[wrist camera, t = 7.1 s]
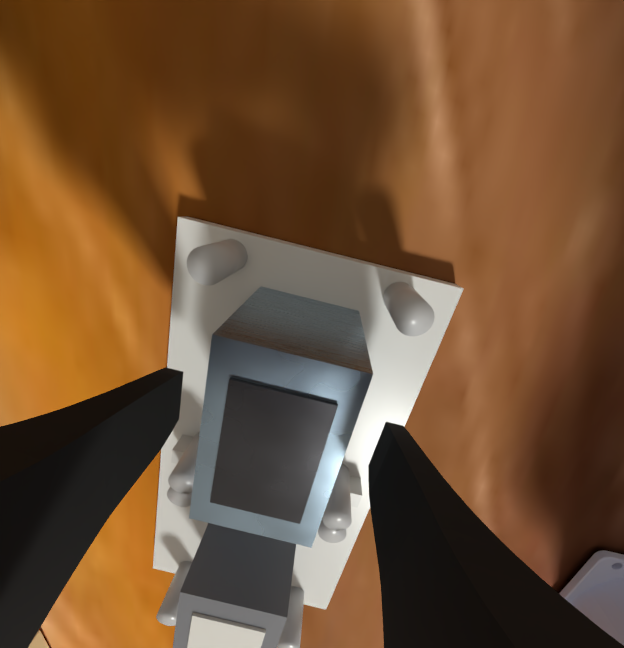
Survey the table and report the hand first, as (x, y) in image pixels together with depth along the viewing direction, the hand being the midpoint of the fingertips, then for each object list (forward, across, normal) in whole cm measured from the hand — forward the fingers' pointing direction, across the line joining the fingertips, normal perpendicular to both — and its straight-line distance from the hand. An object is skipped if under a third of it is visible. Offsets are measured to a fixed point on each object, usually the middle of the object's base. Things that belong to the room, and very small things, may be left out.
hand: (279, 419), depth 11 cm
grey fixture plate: (+4, 0, +5) cm, 6 cm away
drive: (+3, 0, 0) cm, 3 cm away
